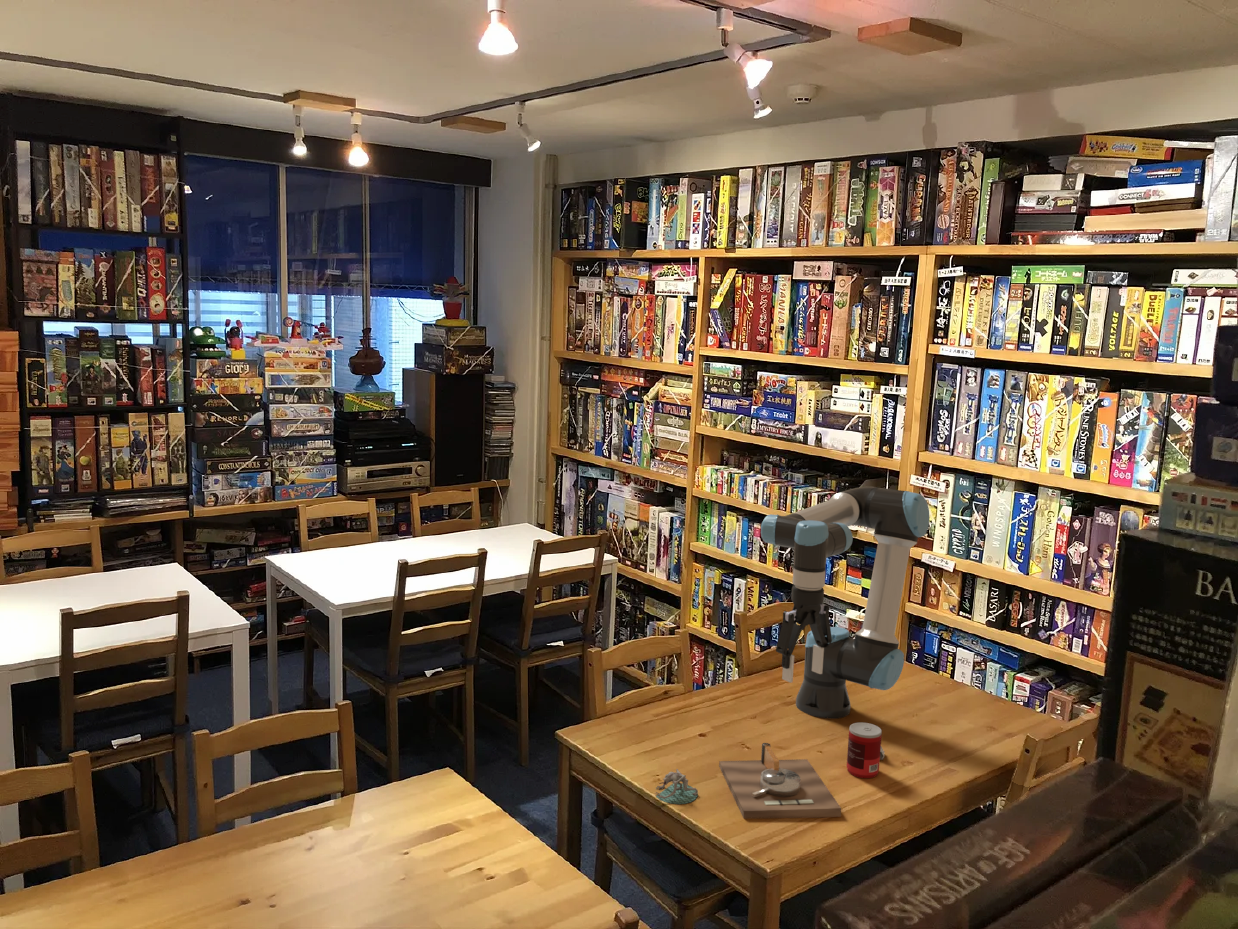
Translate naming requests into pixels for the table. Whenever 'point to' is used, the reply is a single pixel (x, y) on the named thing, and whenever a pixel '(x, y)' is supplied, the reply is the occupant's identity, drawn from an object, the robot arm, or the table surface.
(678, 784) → the figurine
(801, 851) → the table surface
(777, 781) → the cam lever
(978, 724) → the table surface
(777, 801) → the level stand
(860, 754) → the canned food
